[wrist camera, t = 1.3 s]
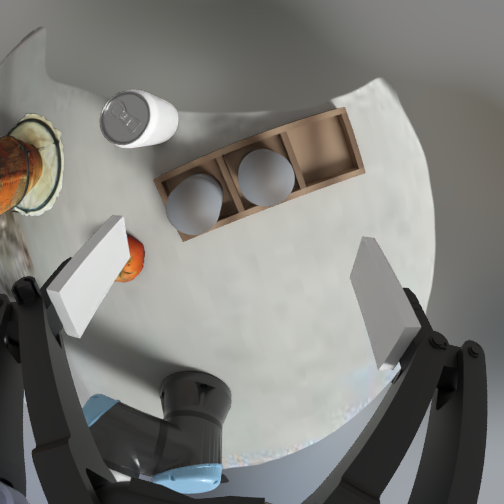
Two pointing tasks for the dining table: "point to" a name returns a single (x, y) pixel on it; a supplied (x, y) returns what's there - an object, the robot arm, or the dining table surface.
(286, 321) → the dining table surface
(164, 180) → the socket rail
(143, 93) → the can
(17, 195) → the decorative vase
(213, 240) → the dining table surface
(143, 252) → the tomato
